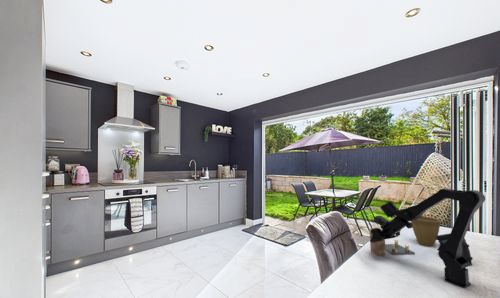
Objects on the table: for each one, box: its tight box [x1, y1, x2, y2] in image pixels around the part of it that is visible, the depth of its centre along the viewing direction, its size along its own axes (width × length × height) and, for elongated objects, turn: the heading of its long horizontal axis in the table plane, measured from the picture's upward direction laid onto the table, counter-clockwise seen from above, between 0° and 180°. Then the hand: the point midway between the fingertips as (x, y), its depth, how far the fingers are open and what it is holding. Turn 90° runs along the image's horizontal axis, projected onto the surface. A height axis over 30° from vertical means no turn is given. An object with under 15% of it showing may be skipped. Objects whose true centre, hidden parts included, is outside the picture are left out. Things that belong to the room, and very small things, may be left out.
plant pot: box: [410, 216, 441, 247], centre depth 136 cm, size 15×15×16 cm
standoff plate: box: [385, 239, 416, 256], centre depth 125 cm, size 13×13×4 cm
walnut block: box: [369, 227, 386, 257], centre depth 119 cm, size 5×5×13 cm
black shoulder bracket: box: [436, 233, 473, 267], centre depth 112 cm, size 4×13×15 cm, turn 27°
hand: (375, 240), depth 120 cm, fingers open, 8 cm apart
